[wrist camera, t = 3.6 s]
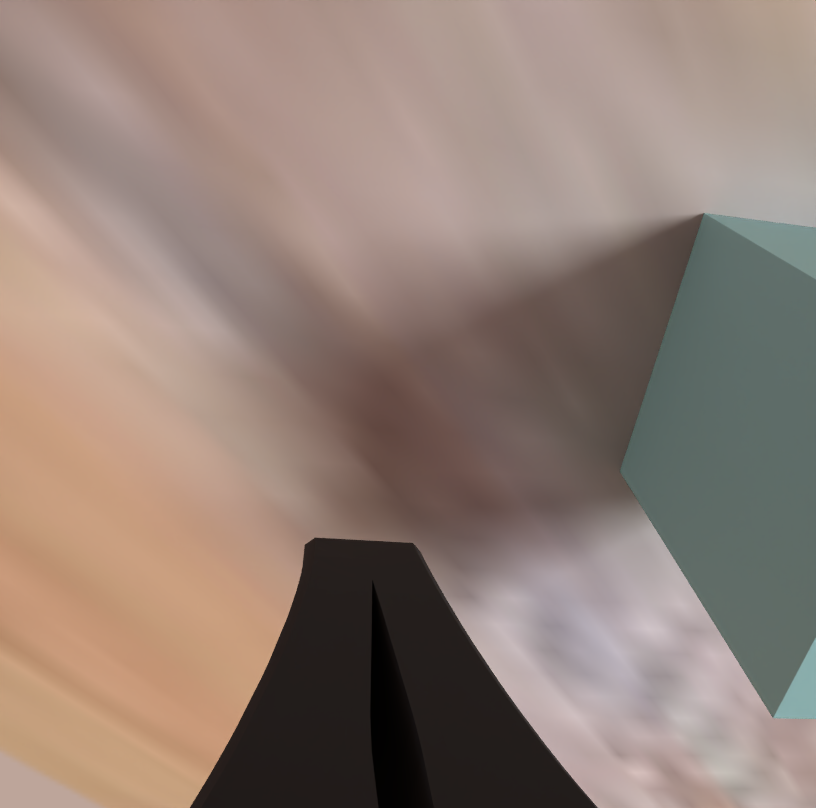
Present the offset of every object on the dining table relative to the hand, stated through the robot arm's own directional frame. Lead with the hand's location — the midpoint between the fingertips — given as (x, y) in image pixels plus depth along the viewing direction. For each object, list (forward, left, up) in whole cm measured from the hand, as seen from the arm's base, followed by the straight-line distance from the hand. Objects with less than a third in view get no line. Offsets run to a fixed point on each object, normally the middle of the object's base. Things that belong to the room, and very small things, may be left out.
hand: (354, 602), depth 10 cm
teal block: (+10, 0, -9) cm, 14 cm away
